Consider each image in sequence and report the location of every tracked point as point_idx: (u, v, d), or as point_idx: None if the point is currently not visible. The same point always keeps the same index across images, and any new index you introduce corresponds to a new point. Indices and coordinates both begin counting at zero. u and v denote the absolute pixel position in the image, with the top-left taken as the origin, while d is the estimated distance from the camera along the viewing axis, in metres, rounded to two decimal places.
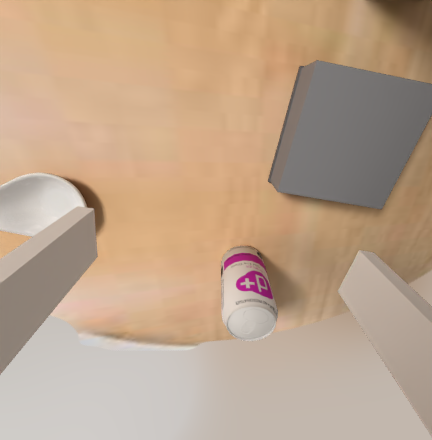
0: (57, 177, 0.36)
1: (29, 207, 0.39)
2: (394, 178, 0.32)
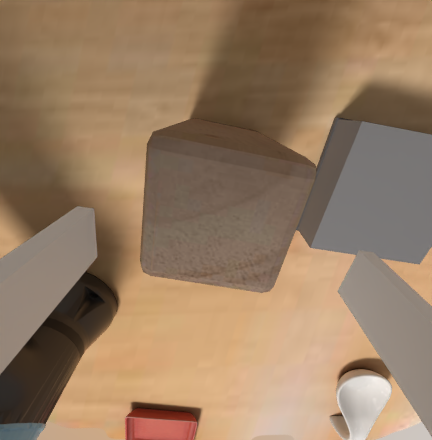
0: (343, 384, 0.49)
1: (356, 397, 0.54)
2: None
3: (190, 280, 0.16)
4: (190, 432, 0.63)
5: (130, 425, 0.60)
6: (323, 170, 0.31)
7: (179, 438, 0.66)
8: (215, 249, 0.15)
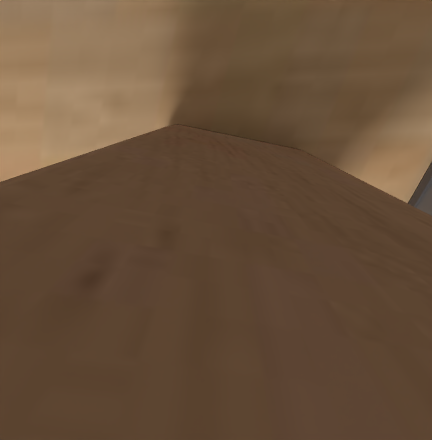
0: None
1: None
2: None
3: None
4: None
5: None
6: None
7: None
8: None
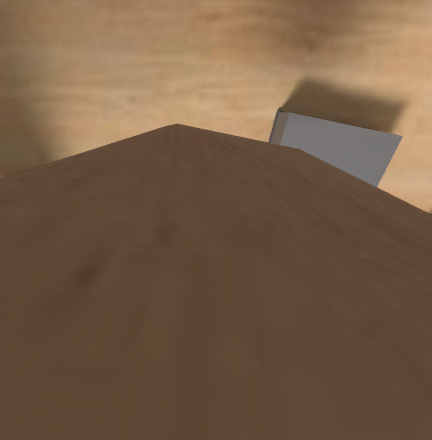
0: None
1: None
2: (368, 133, 0.31)
3: None
4: None
5: None
6: None
7: None
8: None
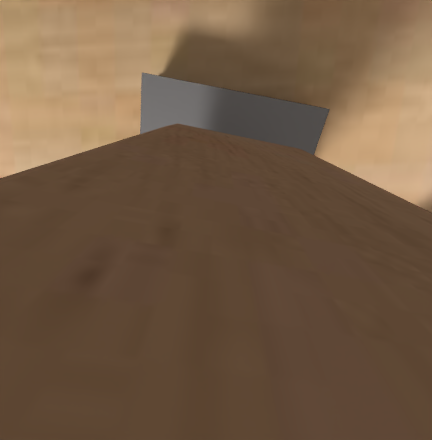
0: None
1: None
2: (275, 105, 0.20)
3: None
4: None
5: None
6: None
7: None
8: None
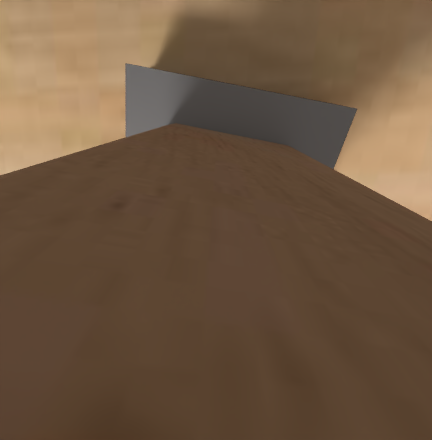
0: None
1: None
2: (290, 103, 0.16)
3: None
4: None
5: None
6: None
7: None
8: None
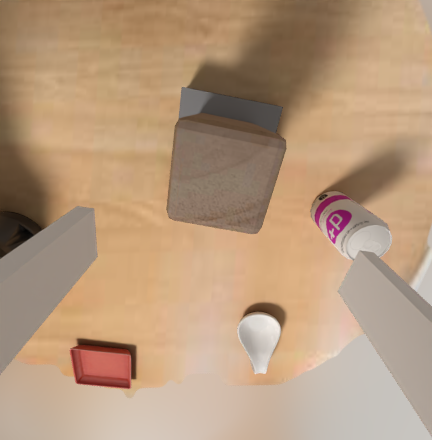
0: (239, 323, 0.61)
1: (259, 337, 0.65)
2: (253, 104, 0.36)
3: (201, 223, 0.23)
4: (129, 368, 0.74)
5: (77, 359, 0.72)
6: None
7: (122, 375, 0.77)
8: (219, 199, 0.22)
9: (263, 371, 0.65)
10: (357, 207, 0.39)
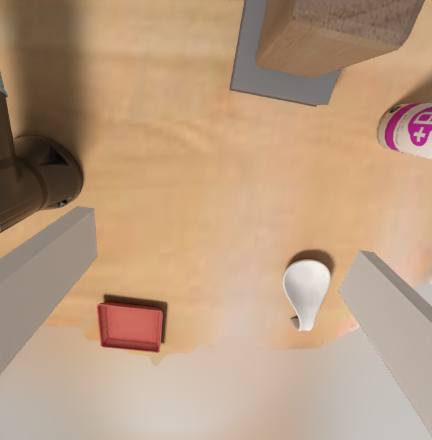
0: (285, 272, 0.56)
1: (304, 290, 0.60)
2: None
3: (334, 27, 0.18)
4: (158, 329, 0.69)
5: (103, 319, 0.67)
6: (243, 18, 0.36)
7: (150, 338, 0.72)
8: None
9: (309, 326, 0.60)
10: None
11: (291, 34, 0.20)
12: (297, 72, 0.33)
